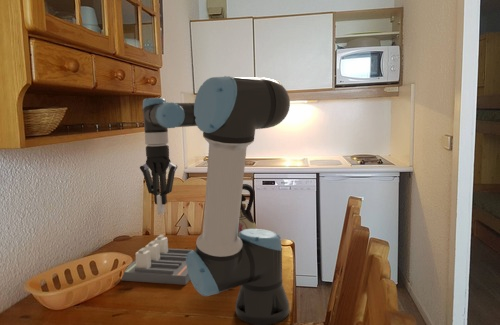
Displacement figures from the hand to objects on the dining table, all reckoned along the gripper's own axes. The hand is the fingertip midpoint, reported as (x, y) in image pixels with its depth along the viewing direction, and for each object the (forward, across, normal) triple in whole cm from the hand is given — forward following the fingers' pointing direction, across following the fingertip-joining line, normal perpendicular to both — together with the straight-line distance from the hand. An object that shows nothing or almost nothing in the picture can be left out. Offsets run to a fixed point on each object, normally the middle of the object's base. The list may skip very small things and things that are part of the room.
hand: (161, 213), depth 126 cm
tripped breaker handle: (+20, +7, +1) cm, 21 cm away
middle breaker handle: (+20, +7, -6) cm, 22 cm away
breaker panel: (+23, +2, -6) cm, 24 cm away
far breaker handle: (+20, +7, -13) cm, 24 cm away
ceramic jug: (+23, -24, -18) cm, 37 cm away
